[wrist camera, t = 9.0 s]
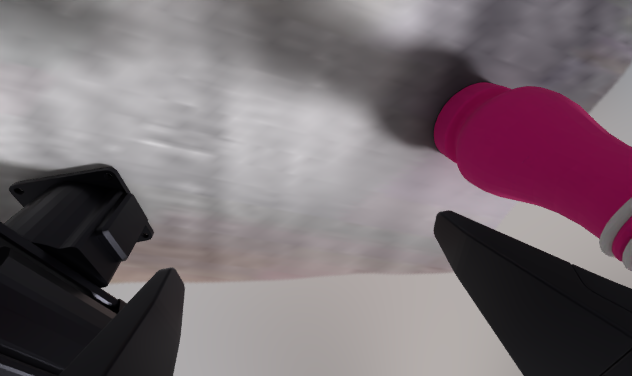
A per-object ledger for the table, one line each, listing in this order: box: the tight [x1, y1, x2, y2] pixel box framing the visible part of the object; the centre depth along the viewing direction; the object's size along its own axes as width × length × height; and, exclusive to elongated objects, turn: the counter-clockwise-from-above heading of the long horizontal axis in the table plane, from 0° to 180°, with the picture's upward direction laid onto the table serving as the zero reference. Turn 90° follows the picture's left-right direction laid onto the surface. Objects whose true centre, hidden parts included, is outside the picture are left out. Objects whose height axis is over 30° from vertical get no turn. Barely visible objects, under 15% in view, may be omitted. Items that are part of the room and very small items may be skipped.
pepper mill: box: [434, 82, 632, 271], centre depth 13 cm, size 7×7×20 cm
